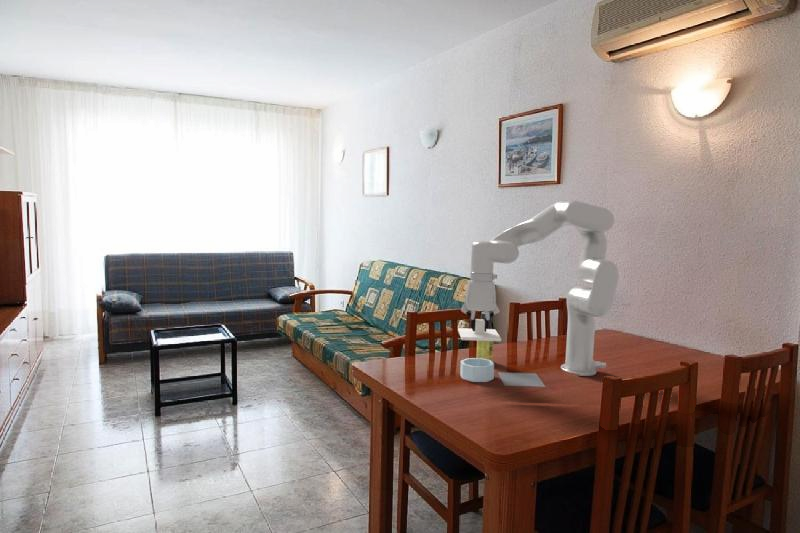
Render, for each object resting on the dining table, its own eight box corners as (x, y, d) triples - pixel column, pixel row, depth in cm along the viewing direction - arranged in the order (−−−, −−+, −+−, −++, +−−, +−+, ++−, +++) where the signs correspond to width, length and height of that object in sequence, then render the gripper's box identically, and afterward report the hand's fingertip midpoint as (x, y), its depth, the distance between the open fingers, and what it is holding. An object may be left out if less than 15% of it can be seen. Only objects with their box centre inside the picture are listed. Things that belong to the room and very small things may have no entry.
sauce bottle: (492, 367, 198) (494, 315, 195) (475, 366, 199) (477, 314, 197) (492, 362, 204) (495, 311, 202) (476, 361, 205) (478, 310, 203)
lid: (494, 332, 188) (495, 316, 188) (501, 341, 175) (501, 325, 175) (458, 330, 188) (459, 315, 188) (461, 339, 175) (462, 323, 175)
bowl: (488, 374, 189) (489, 358, 189) (495, 384, 178) (496, 366, 178) (458, 374, 189) (459, 358, 188) (463, 384, 178) (464, 366, 177)
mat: (535, 375, 189) (536, 373, 189) (545, 389, 175) (545, 386, 175) (497, 374, 189) (497, 372, 189) (504, 387, 175) (504, 385, 175)
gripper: (503, 277, 183) (501, 329, 185) (456, 275, 183) (454, 327, 186) (507, 280, 176) (505, 334, 178) (458, 278, 176) (456, 332, 178)
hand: (479, 330), depth 182 cm, fingers closed on lid, 3 cm apart
